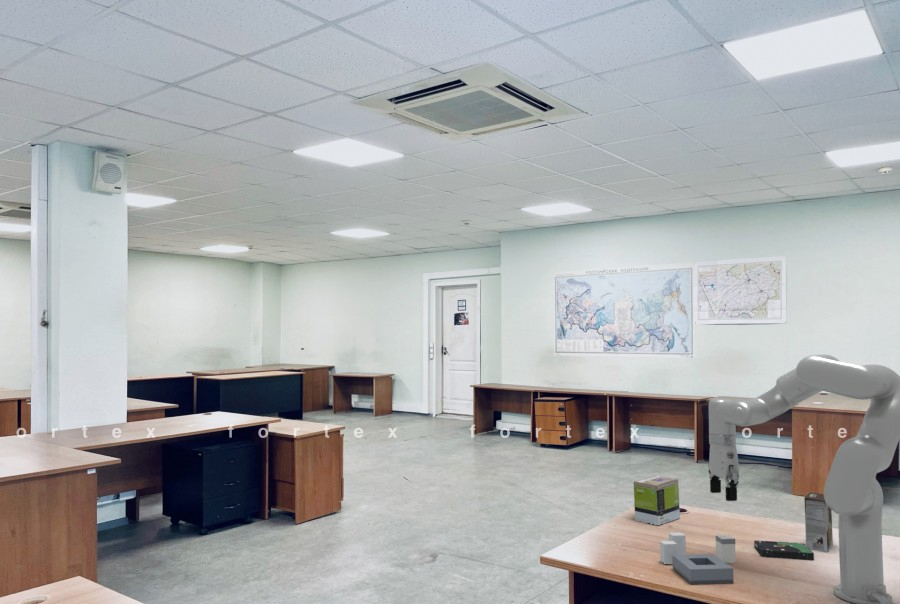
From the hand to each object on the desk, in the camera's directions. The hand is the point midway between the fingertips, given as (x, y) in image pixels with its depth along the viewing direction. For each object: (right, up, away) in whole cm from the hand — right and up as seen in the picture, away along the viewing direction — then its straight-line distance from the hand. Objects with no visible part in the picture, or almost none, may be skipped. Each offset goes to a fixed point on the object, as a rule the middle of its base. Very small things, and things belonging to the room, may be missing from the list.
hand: (723, 496), depth 197 cm
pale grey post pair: (-15, -19, +1) cm, 24 cm away
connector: (0, -19, -1) cm, 19 cm away
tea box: (-6, -22, +43) cm, 49 cm away
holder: (-12, -18, -14) cm, 26 cm away
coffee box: (+35, -20, +11) cm, 42 cm away
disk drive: (+21, -20, +5) cm, 29 cm away
